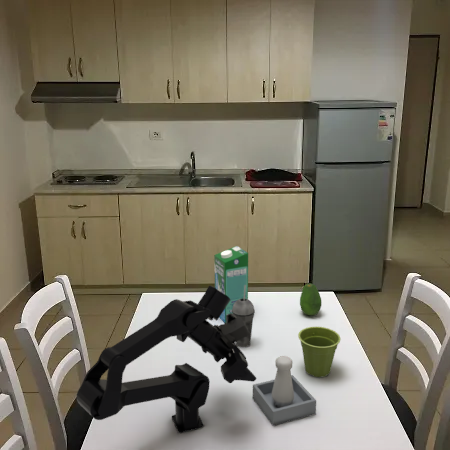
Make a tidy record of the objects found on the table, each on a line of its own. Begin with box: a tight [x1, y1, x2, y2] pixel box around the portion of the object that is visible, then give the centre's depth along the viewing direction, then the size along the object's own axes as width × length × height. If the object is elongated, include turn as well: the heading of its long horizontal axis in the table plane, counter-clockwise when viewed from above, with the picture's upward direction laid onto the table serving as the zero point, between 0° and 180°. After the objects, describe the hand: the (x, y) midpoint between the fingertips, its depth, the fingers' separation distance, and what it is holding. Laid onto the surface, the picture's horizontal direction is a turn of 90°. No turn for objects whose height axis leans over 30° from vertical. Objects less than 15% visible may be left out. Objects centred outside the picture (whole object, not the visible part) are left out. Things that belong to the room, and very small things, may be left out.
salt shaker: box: [272, 355, 294, 408], centre depth 123 cm, size 6×6×13 cm
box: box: [252, 374, 317, 427], centre depth 124 cm, size 12×12×4 cm
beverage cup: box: [232, 285, 255, 348], centre depth 153 cm, size 7×7×20 cm
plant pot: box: [297, 326, 342, 378], centre depth 138 cm, size 12×12×11 cm
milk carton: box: [213, 245, 249, 323], centre depth 171 cm, size 9×9×25 cm
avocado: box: [299, 283, 322, 316], centre depth 173 cm, size 8×8×12 cm
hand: (249, 369), depth 121 cm, fingers open, 9 cm apart
